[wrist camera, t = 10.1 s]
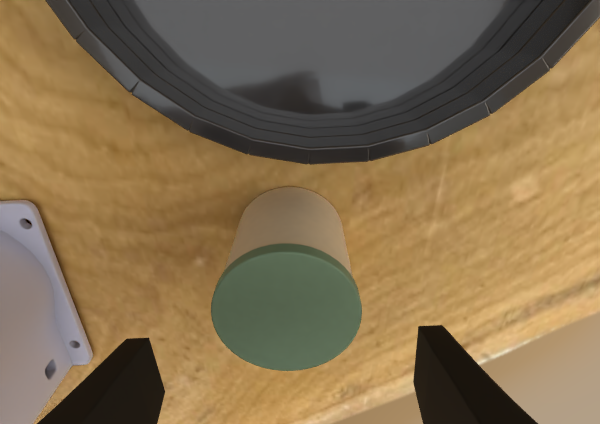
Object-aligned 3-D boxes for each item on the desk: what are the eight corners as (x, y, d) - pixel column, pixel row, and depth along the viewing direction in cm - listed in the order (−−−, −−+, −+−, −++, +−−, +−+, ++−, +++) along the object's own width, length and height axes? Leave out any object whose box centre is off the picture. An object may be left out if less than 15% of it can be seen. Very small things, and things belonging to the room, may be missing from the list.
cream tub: (345, 277, 19) (361, 369, 14) (243, 282, 19) (221, 374, 14) (344, 181, 17) (363, 248, 12) (229, 187, 17) (198, 256, 12)
